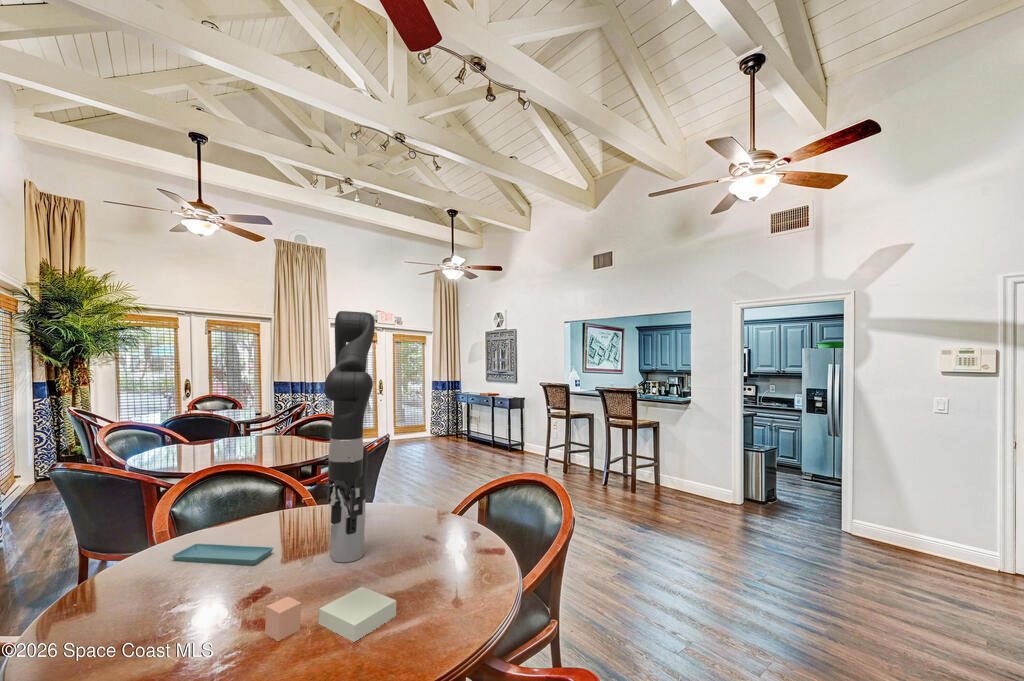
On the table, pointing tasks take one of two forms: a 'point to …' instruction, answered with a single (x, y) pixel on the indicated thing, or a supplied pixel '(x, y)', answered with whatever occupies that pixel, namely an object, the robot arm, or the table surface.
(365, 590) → the sage base block
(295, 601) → the terracotta block
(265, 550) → the teal serving tray
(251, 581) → the table surface
